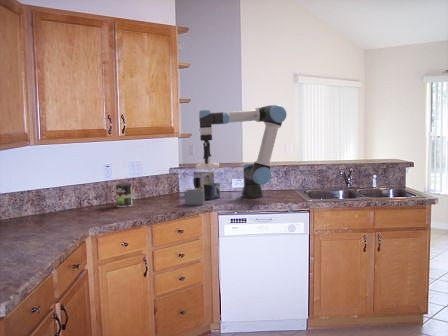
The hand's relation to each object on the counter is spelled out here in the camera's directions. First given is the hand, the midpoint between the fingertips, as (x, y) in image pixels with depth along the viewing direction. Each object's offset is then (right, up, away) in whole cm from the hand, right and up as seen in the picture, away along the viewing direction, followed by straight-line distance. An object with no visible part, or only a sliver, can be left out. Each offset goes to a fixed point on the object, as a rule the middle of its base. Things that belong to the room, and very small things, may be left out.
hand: (207, 167), depth 312 cm
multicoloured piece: (-55, -25, +4) cm, 60 cm away
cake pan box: (-4, -20, +40) cm, 45 cm away
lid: (0, 0, 0) cm, 0 cm away
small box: (+2, -22, +22) cm, 31 cm away
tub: (-9, -24, +3) cm, 25 cm away
